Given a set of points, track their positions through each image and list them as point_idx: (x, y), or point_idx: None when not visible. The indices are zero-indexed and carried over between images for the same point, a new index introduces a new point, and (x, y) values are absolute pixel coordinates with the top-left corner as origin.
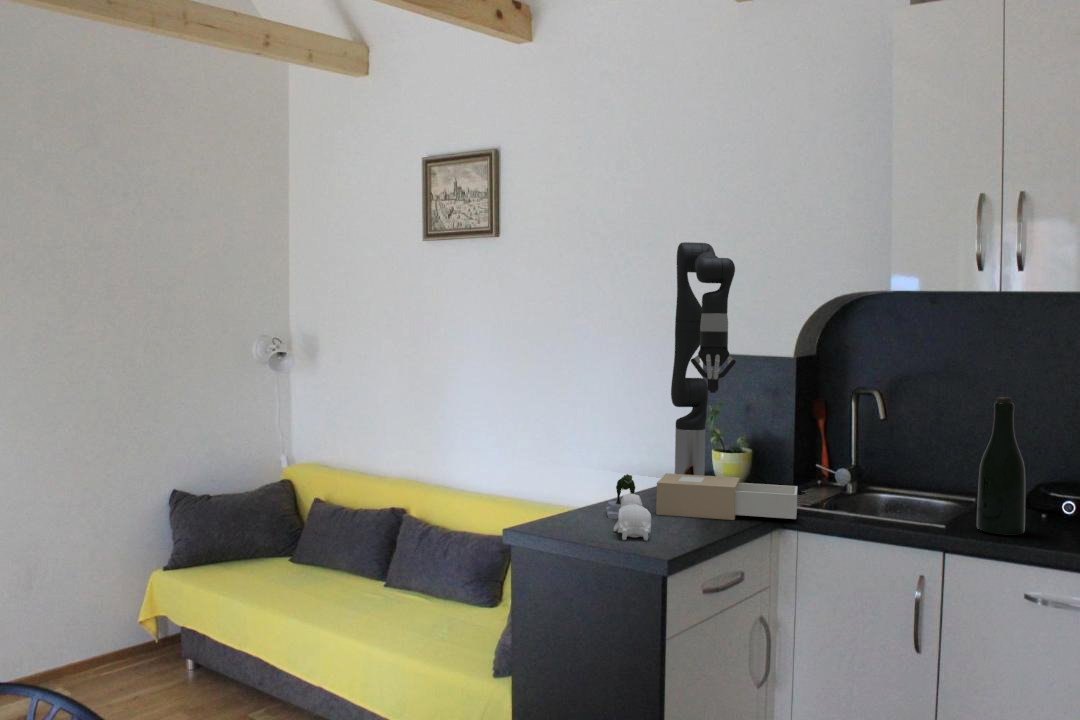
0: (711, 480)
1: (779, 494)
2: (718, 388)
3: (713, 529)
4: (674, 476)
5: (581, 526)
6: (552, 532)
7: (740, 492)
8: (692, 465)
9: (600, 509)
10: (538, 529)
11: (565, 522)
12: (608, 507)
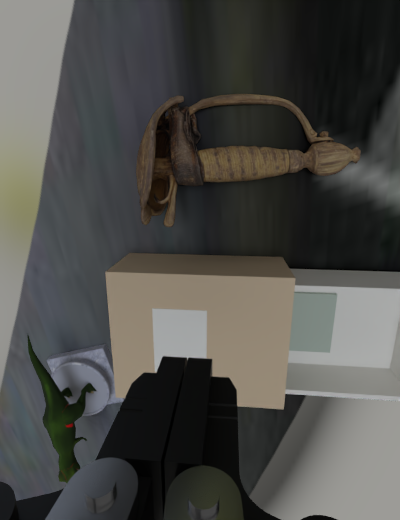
0: (226, 340)
1: (379, 398)
2: (236, 400)
3: (242, 436)
4: (134, 310)
5: (55, 458)
6: (35, 494)
7: (293, 392)
8: (153, 168)
9: (36, 341)
10: (12, 484)
11: (25, 441)
12: (52, 369)
